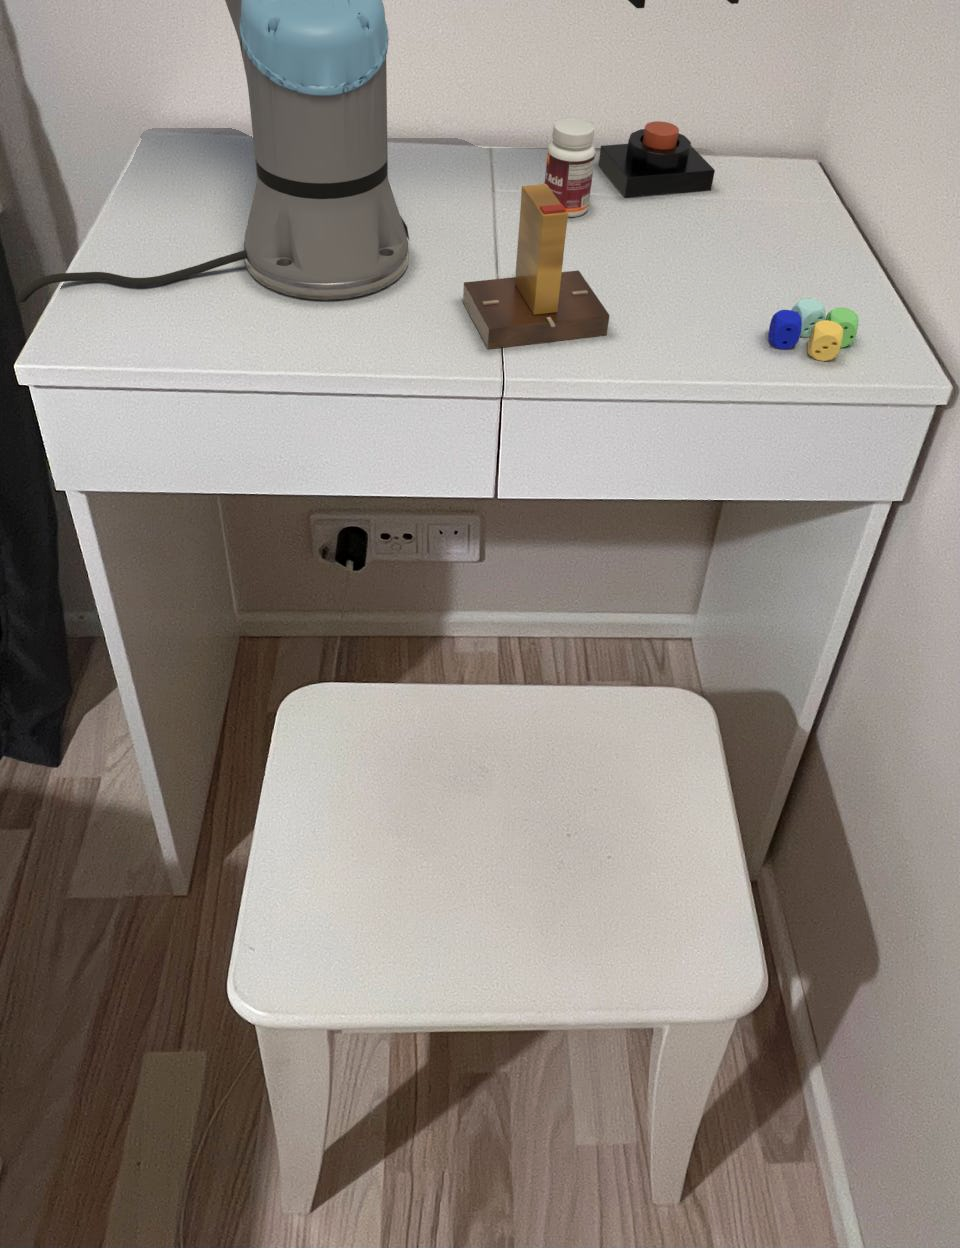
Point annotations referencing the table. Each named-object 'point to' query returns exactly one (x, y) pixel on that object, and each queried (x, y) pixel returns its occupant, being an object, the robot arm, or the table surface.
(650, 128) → the bell button
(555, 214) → the thumb turn
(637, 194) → the button box
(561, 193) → the pill bottle
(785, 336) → the dice
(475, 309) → the lock plate
